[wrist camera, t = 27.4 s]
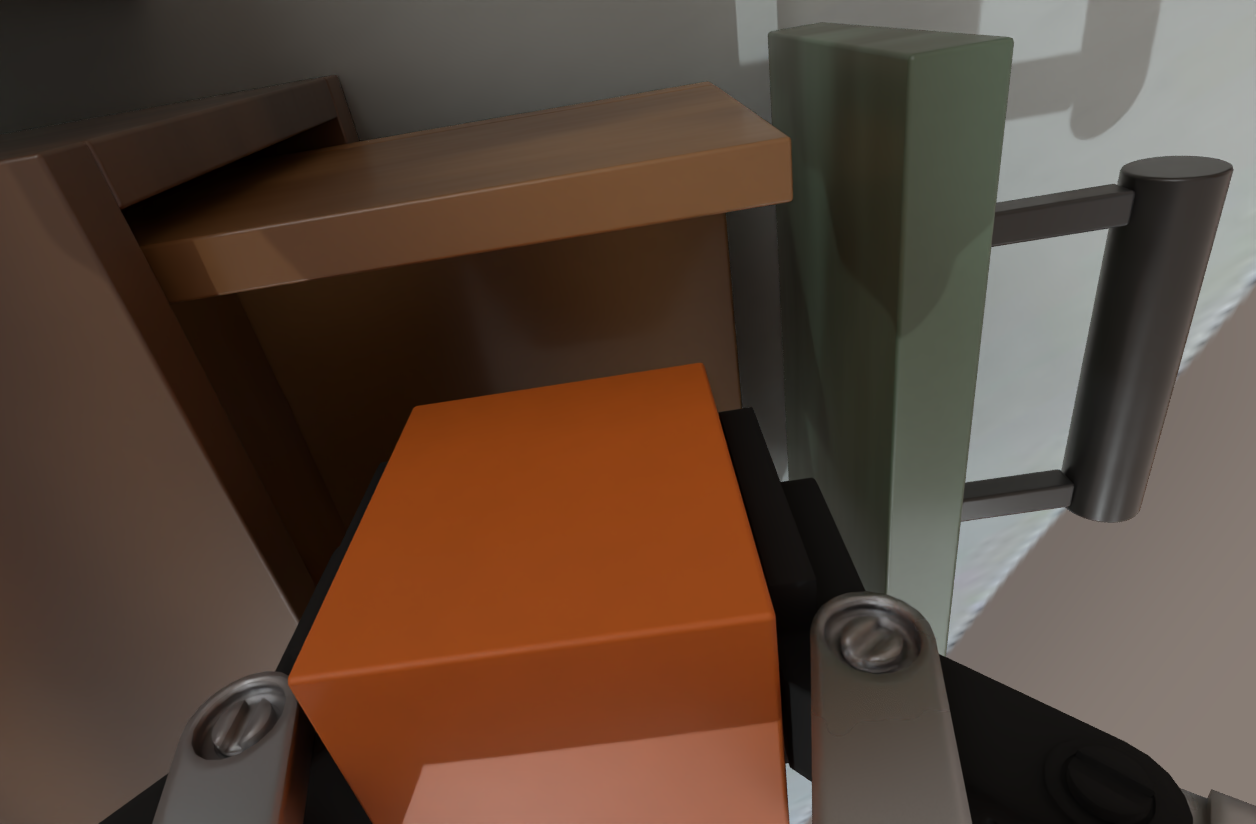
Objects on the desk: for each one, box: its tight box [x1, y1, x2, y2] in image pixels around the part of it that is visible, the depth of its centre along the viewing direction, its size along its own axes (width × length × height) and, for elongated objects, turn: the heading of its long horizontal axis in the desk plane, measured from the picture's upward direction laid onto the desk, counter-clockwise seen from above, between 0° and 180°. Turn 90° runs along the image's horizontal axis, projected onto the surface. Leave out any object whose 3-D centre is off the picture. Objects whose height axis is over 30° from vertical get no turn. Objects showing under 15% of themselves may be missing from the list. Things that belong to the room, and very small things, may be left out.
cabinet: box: [0, 75, 359, 824], centre depth 15 cm, size 16×14×10 cm
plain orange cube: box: [288, 363, 789, 824], centre depth 10 cm, size 5×5×5 cm
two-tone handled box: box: [121, 22, 1233, 657], centre depth 15 cm, size 20×12×8 cm, turn 99°
